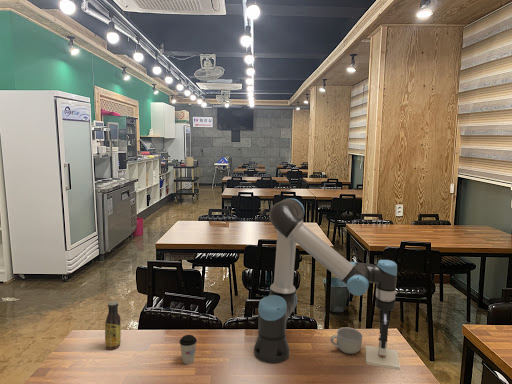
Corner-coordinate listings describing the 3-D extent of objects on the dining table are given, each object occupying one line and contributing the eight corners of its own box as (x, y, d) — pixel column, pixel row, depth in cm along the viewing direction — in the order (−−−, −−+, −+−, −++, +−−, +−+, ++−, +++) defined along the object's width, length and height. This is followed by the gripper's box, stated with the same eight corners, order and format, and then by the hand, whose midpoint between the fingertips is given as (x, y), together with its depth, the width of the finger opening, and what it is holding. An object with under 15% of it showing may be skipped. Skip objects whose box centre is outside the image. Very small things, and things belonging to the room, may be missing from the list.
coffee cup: (176, 360, 150) (176, 337, 149) (191, 354, 155) (191, 331, 154) (184, 368, 145) (184, 344, 144) (200, 361, 150) (200, 338, 148)
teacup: (357, 343, 165) (358, 327, 164) (365, 357, 154) (366, 339, 153) (326, 344, 165) (327, 327, 164) (332, 357, 154) (333, 339, 153)
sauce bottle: (102, 349, 157) (100, 305, 155) (111, 341, 164) (109, 299, 161) (115, 351, 156) (114, 306, 154) (124, 344, 162) (123, 300, 160)
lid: (365, 363, 149) (366, 345, 148) (365, 347, 161) (366, 330, 160) (399, 369, 145) (401, 350, 144) (397, 352, 158) (398, 334, 157)
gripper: (396, 307, 142) (393, 364, 144) (393, 292, 157) (390, 344, 160) (376, 304, 144) (373, 361, 146) (375, 290, 159) (372, 341, 162)
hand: (382, 352), depth 153 cm, fingers closed on lid, 3 cm apart
